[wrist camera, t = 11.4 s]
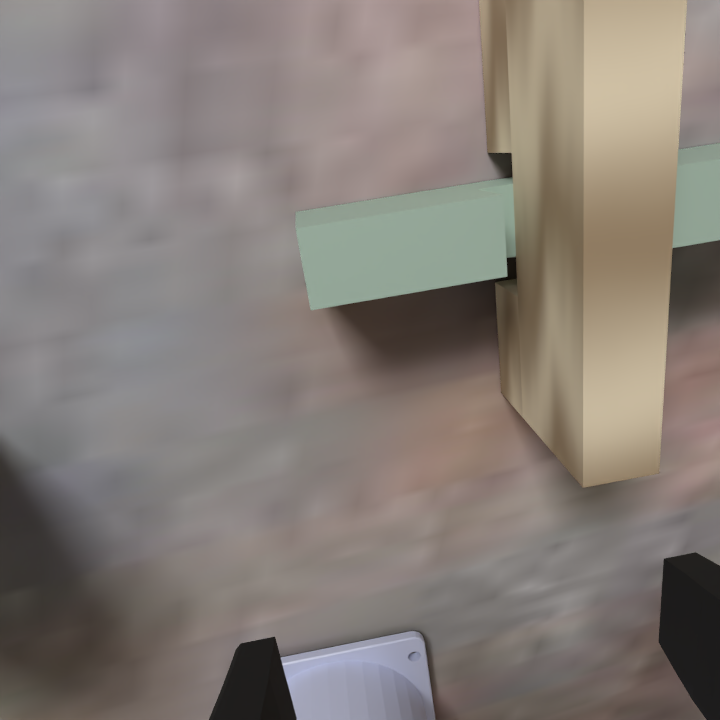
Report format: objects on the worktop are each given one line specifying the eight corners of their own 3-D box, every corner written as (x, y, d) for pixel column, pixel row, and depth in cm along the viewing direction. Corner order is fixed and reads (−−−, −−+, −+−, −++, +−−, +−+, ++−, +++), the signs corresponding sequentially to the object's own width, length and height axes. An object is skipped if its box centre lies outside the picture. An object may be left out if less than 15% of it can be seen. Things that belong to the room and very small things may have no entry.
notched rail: (731, 205, 18) (844, 218, 14) (307, 277, 17) (310, 310, 14) (738, 140, 17) (858, 136, 14) (295, 212, 17) (295, 228, 13)
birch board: (555, 382, 20) (659, 473, 14) (501, 392, 20) (582, 487, 14) (549, -11, 15) (693, -105, 10) (478, -1, 15) (584, -89, 10)
